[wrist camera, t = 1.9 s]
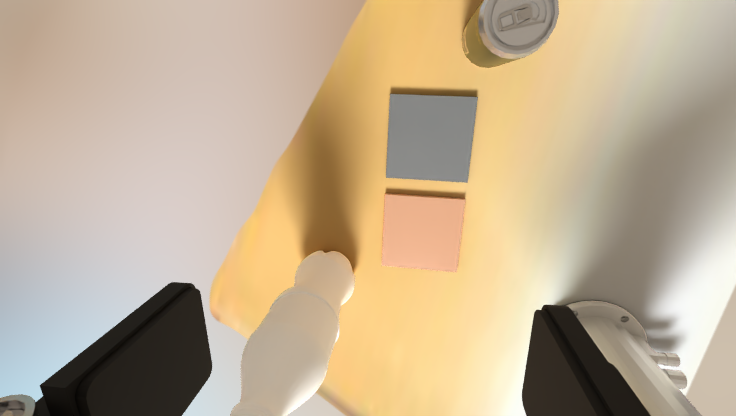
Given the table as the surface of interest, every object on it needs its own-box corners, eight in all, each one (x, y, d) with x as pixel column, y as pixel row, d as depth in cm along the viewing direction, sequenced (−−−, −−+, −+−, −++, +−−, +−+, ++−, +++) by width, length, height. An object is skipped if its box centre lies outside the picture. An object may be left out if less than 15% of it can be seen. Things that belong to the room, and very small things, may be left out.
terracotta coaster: (464, 198, 42) (465, 199, 41) (456, 270, 44) (456, 272, 44) (385, 193, 43) (385, 194, 42) (382, 263, 45) (381, 265, 45)
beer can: (468, 76, 38) (490, 69, 26) (454, 21, 36) (471, -11, 25) (522, 56, 37) (569, 41, 25) (510, 0, 35) (553, -44, 24)
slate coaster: (476, 97, 38) (477, 97, 38) (466, 181, 41) (467, 182, 40) (390, 93, 39) (390, 93, 39) (386, 176, 42) (386, 177, 41)
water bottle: (292, 272, 47) (167, 452, 24) (323, 232, 45) (218, 386, 21) (337, 304, 48) (259, 511, 24) (369, 266, 46) (318, 453, 22)
